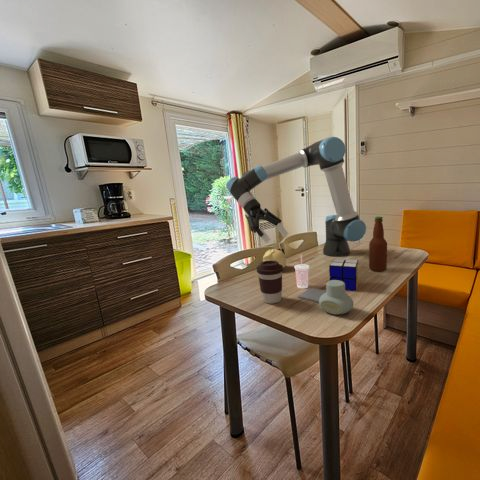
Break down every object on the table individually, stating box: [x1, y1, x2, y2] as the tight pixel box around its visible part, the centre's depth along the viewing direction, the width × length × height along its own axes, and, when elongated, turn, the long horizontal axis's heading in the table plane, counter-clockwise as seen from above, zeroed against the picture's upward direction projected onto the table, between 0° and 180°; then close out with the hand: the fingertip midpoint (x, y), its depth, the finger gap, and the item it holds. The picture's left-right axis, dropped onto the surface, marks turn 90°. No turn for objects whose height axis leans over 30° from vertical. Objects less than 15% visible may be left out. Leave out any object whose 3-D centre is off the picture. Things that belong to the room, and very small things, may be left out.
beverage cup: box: [294, 254, 310, 289], centre depth 110 cm, size 6×6×14 cm
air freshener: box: [318, 279, 354, 315], centre depth 88 cm, size 11×8×10 cm
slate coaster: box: [297, 287, 326, 304], centre depth 102 cm, size 10×10×1 cm
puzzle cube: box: [328, 258, 359, 292], centre depth 108 cm, size 10×10×10 cm
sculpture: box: [262, 248, 287, 269], centre depth 137 cm, size 12×12×11 cm
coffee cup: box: [256, 261, 284, 305], centre depth 100 cm, size 10×10×15 cm
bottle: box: [368, 216, 388, 273], centre depth 121 cm, size 7×7×25 cm
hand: (277, 238), depth 115 cm, fingers open, 13 cm apart
